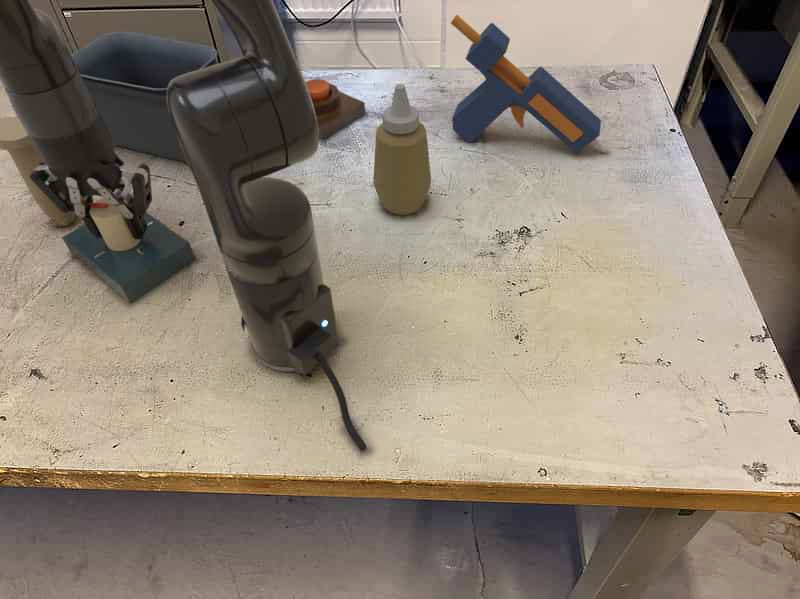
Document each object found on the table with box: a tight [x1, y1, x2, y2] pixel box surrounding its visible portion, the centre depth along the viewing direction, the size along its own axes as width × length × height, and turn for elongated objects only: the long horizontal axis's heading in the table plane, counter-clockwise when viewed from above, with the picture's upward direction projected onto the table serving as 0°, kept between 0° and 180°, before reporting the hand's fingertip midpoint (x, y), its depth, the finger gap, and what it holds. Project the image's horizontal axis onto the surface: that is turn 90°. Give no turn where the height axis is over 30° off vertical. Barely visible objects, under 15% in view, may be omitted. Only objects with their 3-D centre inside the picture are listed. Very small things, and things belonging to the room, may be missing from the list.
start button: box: [305, 78, 330, 102], centre depth 98 cm, size 4×4×2 cm
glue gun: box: [450, 14, 607, 154], centre depth 92 cm, size 6×31×15 cm
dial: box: [90, 197, 141, 251], centre depth 75 cm, size 4×4×6 cm
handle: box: [0, 116, 77, 228], centre depth 79 cm, size 5×6×15 cm
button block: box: [312, 82, 366, 141], centre depth 100 cm, size 12×10×4 cm
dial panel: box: [61, 212, 196, 304], centre depth 78 cm, size 14×10×3 cm
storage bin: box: [70, 31, 219, 163], centre depth 92 cm, size 21×16×14 cm
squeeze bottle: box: [372, 83, 432, 216], centre depth 79 cm, size 8×8×18 cm
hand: (121, 233), depth 76 cm, fingers closed on dial, 4 cm apart
